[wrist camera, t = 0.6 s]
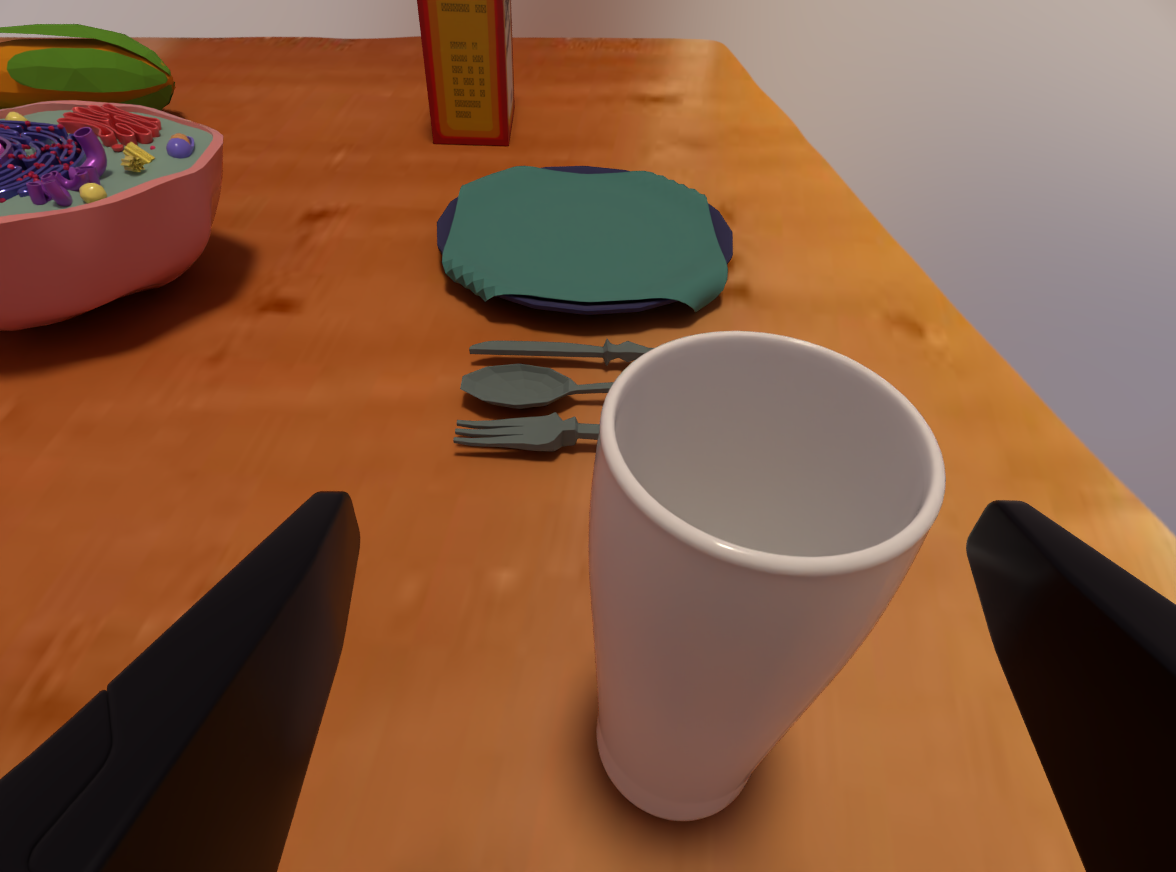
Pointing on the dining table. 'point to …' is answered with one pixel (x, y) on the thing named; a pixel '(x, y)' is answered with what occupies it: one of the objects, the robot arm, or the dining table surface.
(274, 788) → the robot arm
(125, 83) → the corn
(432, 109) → the baking soda box
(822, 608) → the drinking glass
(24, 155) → the cell model
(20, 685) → the dining table surface
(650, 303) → the cutlery set
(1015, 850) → the dining table surface
